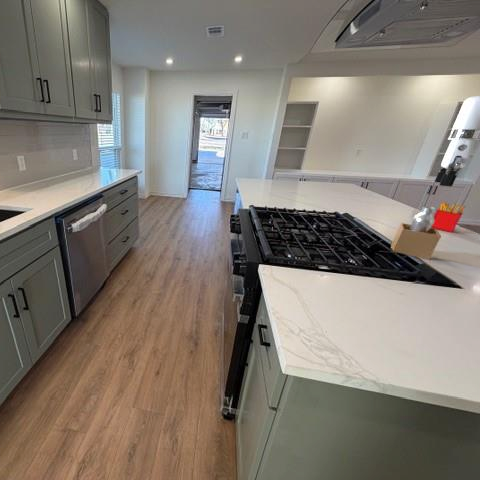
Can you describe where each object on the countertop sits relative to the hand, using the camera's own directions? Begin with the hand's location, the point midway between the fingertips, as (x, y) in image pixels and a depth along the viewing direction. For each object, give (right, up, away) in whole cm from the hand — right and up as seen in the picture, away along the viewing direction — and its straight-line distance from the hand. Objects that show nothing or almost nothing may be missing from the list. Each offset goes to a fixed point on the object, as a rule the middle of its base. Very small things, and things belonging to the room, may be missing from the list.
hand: (442, 184), depth 96 cm
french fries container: (+48, -15, +44) cm, 67 cm away
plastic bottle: (-1, -27, +12) cm, 30 cm away
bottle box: (-2, -27, +12) cm, 30 cm away
